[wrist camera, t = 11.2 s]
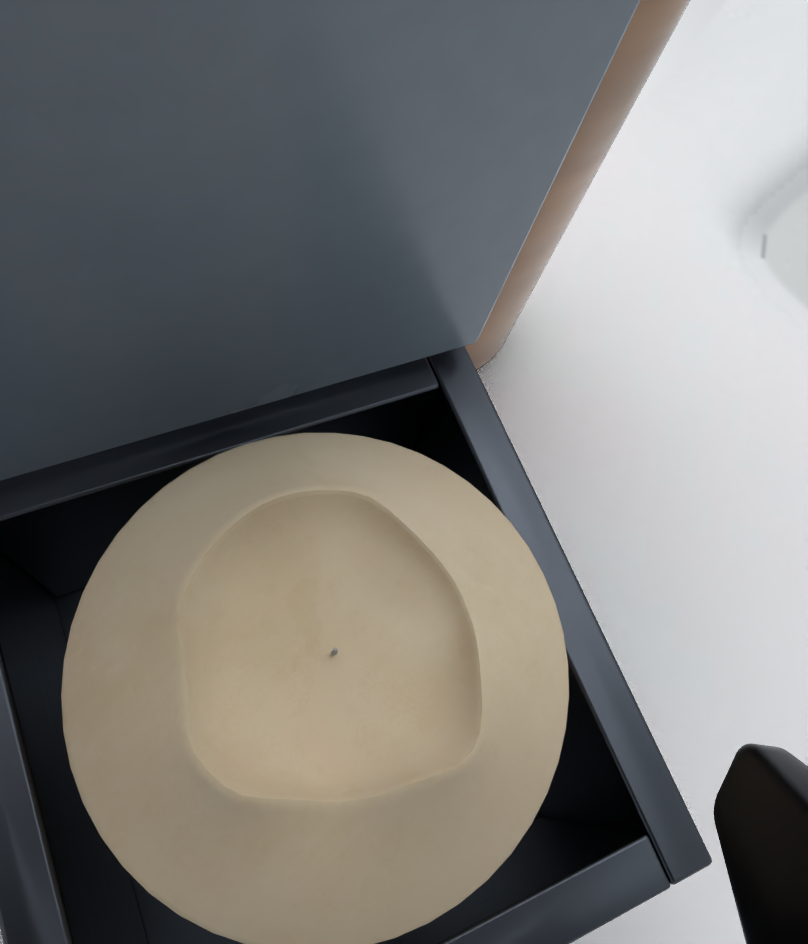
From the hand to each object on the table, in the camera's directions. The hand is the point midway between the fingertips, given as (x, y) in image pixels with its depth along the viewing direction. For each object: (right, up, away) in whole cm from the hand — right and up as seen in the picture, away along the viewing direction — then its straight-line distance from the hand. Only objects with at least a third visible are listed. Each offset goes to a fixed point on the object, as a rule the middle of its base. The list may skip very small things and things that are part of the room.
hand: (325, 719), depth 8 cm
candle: (-1, -3, +8) cm, 9 cm away
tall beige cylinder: (+1, +7, +14) cm, 15 cm away
